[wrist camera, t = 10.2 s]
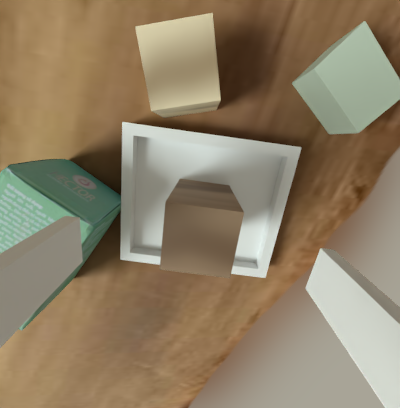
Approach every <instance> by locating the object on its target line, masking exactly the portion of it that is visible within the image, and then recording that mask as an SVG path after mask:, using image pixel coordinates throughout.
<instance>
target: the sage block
mask: <svg viewBox="0 0 400 408" xmlns="http://www.w3.org/2000/svg"><path fill="white" fill-rule="evenodd" d="M292 84H293V86H294V87H295V88H296V90H297V91H298V92H299V94H300V95H301V97H302V98H303V99H304V101H305V102H306V103H307V105H308V106H309V108H310V109H311V110H312V112H313V113H314V114H315V116H316V117H317V119H318V120H319V121H320V123H321V124H322V125H323V127H324V128H325V129H326V131H327V132H328V134H347V133H359V132H360V131H362V130H363V129H364V128H365V127H366V126H368V125H369V124H370V123H371V122H373V121H374V120H375V119H376V118H378V117H379V116H380V115H381V114H382V113H384V112H385V111H386V110H387V109H389V108H390V107H391V106H392V105H393V104H395V103H396V102H397V101H398V100H400V79H399V77H398V76H397V74H396V72H395V71H394V69H393V67H392V65H391V64H390V62H389V60H388V59H387V57H386V55H385V54H384V52H383V50H382V49H381V47H380V45H379V44H378V42H377V40H376V38H375V37H374V35H373V33H372V32H371V30H370V28H369V27H368V25H367V23H366V22H365V21H364V22H362V23H361V24H360V25H358V26H357V27H356V28H354V29H353V30H352V31H350V32H349V33H348V34H346V35H345V36H344V37H342V38H341V39H339V40H338V41H337V42H335V43H334V44H333V45H331V46H330V47H329V48H328V49H327V50H326V51H325V52H324V53H323V54H322V55H321V56H320V57H319V58H318V59H317V60H316V61H314V62H313V63H312V64H311V65H310V66H309V67H308V68H307V69H306V70H305V71H304V72H303V73H302V74H301V75H300V76H299V77H298V78H297V79H296V80H295V81H294V82H292Z"/></svg>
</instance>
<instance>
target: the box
mask: <svg viewBox="0 0 400 408" xmlns="http://www.w3.org/2000/svg"><path fill="white" fill-rule="evenodd" d="M120 211H121V195H119V194H118V193H117V192H115V191H114V190H112V189H111V188H109V187H108V186H106V185H105V184H103V183H102V182H101V181H99V180H98V179H96V178H95V177H93V176H92V175H91V174H89V173H88V172H86V171H85V170H83V169H82V168H81V167H79V166H78V165H77V164H75V163H74V162H72V161H70V160H66V159H47V160H39V161H31V162H24V163H18V164H11V165H9V166H8V167H7V168H5V169H4V170H2V171H1V173H0V254H1V253H2V252H4V251H6V250H7V249H9V248H11V247H13V246H14V245H16V244H18V243H19V242H21V241H23V240H24V239H26V238H28V237H30V236H31V235H33V234H35V233H36V232H38V231H40V230H42V229H43V228H45V227H47V226H48V225H50V224H52V223H54V222H55V221H57V220H59V219H60V218H62V217H64V216H71V217H79V218H80V229H81V244H82V259H83V262H82V263H81V264H80V265H79V266H78V267H77V268H76V269H75V270H74V271H73V272H72V273H71V274H70V275H69V276H68V277H67V278H66V279H65V281H64V282H63V283H62V284H61V285H60V286H59V287H58V288H57V289H56V290H55V291H54V292H53V293H52V294H51V295H50V296H49V297H48V298H47V299H46V300H45V302H44V303H43V304H42V305H41V306H40V307H39V308H38V309H37V310H36V311H35V312H34V313H33V314H32V315H31V316H30V317H29V318H28V319H27V320H26V321H25V323H24V324H23V325H22V326H21V327H20V328H19V330H23V329H24V328H25V327H26V326H27V325H28V324H29V323H30V322H31V321H32V320H33V319H34V318H35V317H36V316H37V315H38V314H39V313H40V312H41V311H42V310H43V309H44V308H45V307H46V306H47V305H48V304H49V303H50V302H51V301H52V300H53V299H54V298H55V297H56V296H57V295H58V294H59V293H60V292H61V291H62V290H63V289H64V288H65V287H66V286H67V285H68V284H69V283H70V282H71V281H72V279H73V278H74V277H75V276H76V274H77V273H78V271H79V270H80V268H81V267H82V266H83V264H84V263H85V261H86V260H87V258H88V257H89V256H90V254H91V253H92V251H93V250H94V248H95V247H96V245H97V244H98V243H99V241H100V240H101V238H102V237H103V235H104V234H105V233H106V231H107V230H108V228H109V227H110V225H111V224H112V222H113V221H114V219H115V218H116V216H117V215H118V214H119V212H120Z"/></svg>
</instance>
